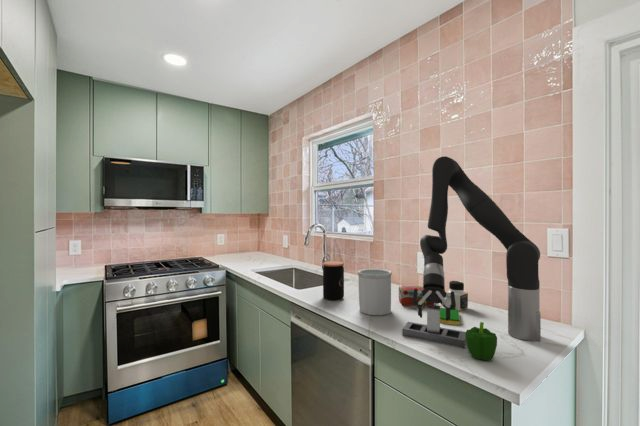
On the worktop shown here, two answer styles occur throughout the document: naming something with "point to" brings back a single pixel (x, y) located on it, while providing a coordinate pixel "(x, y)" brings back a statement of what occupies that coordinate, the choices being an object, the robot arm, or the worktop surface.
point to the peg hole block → (445, 335)
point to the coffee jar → (333, 280)
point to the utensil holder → (375, 291)
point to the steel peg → (433, 319)
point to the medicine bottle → (458, 295)
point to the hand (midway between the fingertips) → (433, 318)
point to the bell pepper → (481, 343)
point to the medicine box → (409, 295)
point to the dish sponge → (453, 317)
